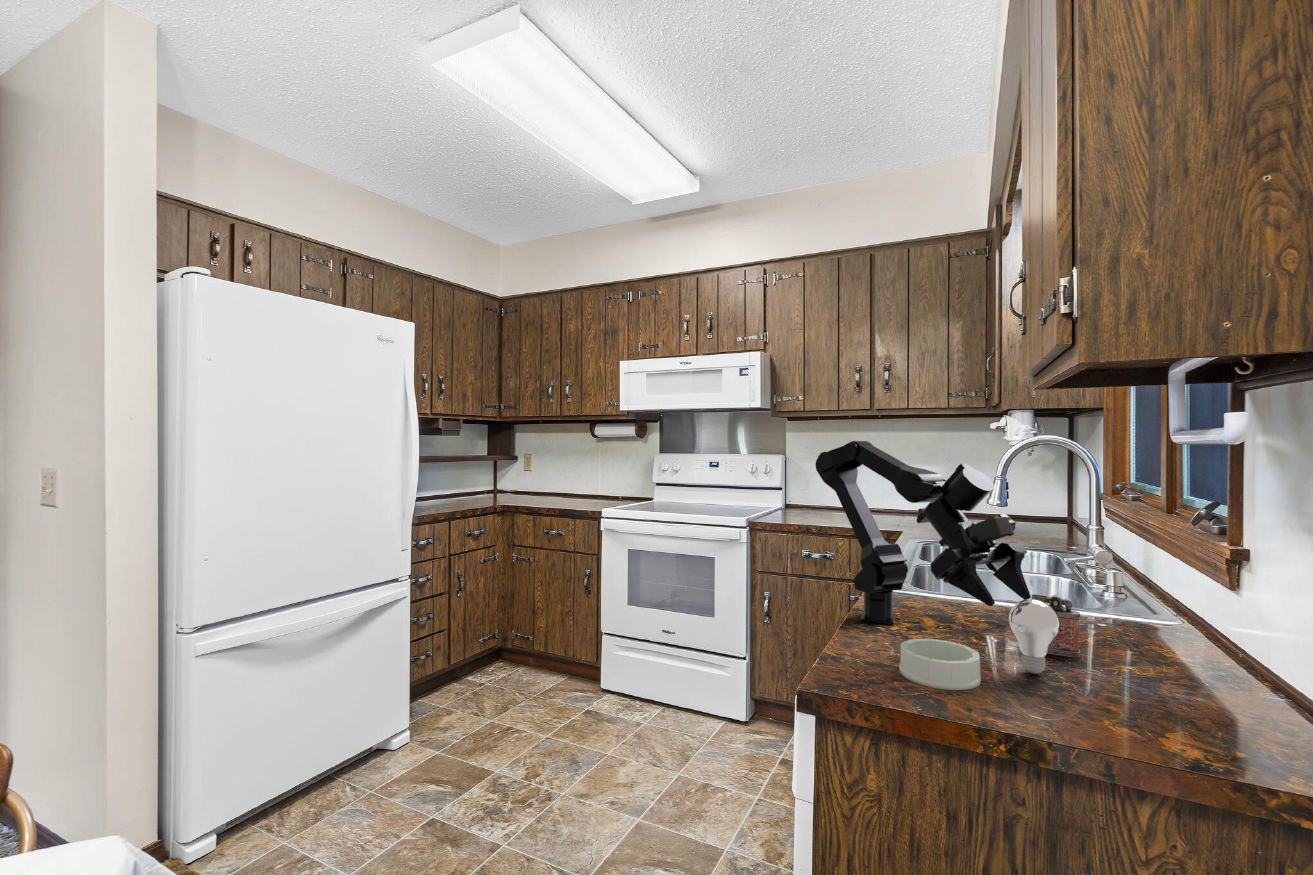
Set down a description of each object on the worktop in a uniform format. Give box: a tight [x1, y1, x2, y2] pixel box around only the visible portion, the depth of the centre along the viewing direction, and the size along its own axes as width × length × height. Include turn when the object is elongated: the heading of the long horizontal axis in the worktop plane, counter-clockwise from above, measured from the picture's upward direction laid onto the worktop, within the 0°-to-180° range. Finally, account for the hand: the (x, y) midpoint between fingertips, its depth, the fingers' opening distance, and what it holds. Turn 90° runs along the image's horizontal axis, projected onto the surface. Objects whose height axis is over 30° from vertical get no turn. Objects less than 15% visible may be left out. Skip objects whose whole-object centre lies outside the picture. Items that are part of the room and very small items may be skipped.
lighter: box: [1031, 593, 1081, 658], centre depth 112 cm, size 8×3×10 cm, turn 56°
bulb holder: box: [898, 638, 982, 691], centre depth 100 cm, size 12×12×4 cm
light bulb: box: [1008, 598, 1059, 676], centre depth 101 cm, size 7×7×12 cm
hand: (1010, 601), depth 105 cm, fingers open, 9 cm apart
